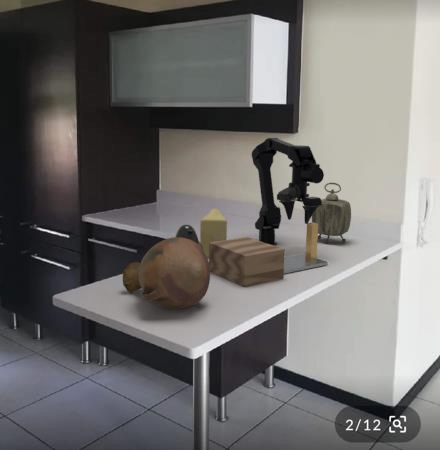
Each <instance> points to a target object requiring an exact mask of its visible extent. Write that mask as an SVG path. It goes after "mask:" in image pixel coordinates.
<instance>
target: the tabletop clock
mask: <svg viewBox="0 0 440 450" xmlns="http://www.w3.org/2000/svg"><path fill="white" fill-rule="evenodd" d="M328 185H333V186H334V185H335V186H338V188H339V190H336V191H335V189H331V190H328V189H327V188H326V187H327V186H328ZM324 190H325V191H326V192H327V193H329V194H327V195H326V197H325V198H321V200H322V205H321V206H319V207H317V208H316V210H315V211H314V213H313V215H312V216H311V223H312V222H313V223H317V224H318V238H317V240H321V238H322V235H324V236H326V237H327V239H326V240H325V243H326V244H330V242H331V240H330V236H331V237H339V236H340V238H341V242H342V243H346V241H347V240H346V238H344V237H343V235H344V234H346V233H348V232H349V229H350V226H351V219H352V207H351V203H350V202H349V201H347V200H344V199H341V198H340V199H339V196H338V195H337V194H338V193H340V192H341V190H342V188H341V185H340V184H339V183H336V182H328V183H326V184H325V185H324Z"/></svg>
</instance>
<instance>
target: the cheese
mask: <svg viewBox="0 0 440 450" xmlns="http://www.w3.org/2000/svg"><path fill="white" fill-rule="evenodd" d="M227 221H228V220H227V219H226V218H225V216H224V214H223V213H221V211H220V210H219V209H218V208H211V210H210V211H209V212H208V214H206V215H205V216H204V217H203V218H201V220H200V231H199V232H200V235H199V237H200V238H199V240H200V241H199V242H200V243H201V245H202V246H203V251H204V252H205V254H206V256H207V259H209V243H210V242H217V241H223V240H228V239H227V238H228V237H227V235H228V233H227V231H228V228H227V227H228V223H227Z"/></svg>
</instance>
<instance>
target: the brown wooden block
mask: <svg viewBox="0 0 440 450" xmlns="http://www.w3.org/2000/svg"><path fill="white" fill-rule="evenodd" d="M284 257H285V248H282V247H279V246H276V245H274V244H273V245H270V244H267V243H264V242H261V241H259V239H258V240H256V239H255V238H251V237H248V236H245V237H244V236H243V237H237V238H233V239H226V240H223V241H217V242H210V243H209V258H208V262H209V266H210V273H212V274H215V275H216V276H218V277H221V278H223V279H226V280H228V281H230V282H232V283H234V284H236V285H238V286H241V287H244V288H247V287H252V286H256V285H260V284H266V283H270V282H274V281H279V280H280V281H281V280H284V275H285V274H284Z"/></svg>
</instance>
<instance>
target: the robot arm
mask: <svg viewBox="0 0 440 450" xmlns="http://www.w3.org/2000/svg"><path fill="white" fill-rule="evenodd" d="M277 153H280V154H283V155H286V156H287V158H288V159H289V160H290V161H291V163H290V164H289V165H288V167H289V168H292V169H291V171H292V172H291V182H289V183H288V187H286V188H284V189H282V190H280V191H278V193H277V194H276V200H277V201H279V203H281V204H282V205H283V207H284V210H285V214H286V217H287V219H288V220H289V221H290V220H291V219H292V217H293V213H294V208H295V202H301V203H302V204H303V205H302V207H301V208H303V210H304V224H305V225H307V223H310V220H311V219H312V215H313V213H314V211H315V210H316V208H317V207H319V206H321V205H322V198H321V197H318V196H310V194H309V193H308V187H309V186H310V183H312V184H320V183H321V182H322V181H323V179H324V176H325V173H324V171H323V169H322V168H321V167H320V166H321V165H320V164H319V163H317V160H316V159H315V157H314V154H313V152H312V150H311V147H310V146H309V145H297V144H293V143H290V142H287V141H284V140H281V139H279V138H278V137H268V138H266V139H265V140H264V141H263V142H261V143H260V144H257V145H256V146H255V148H254V149H252V151H251V159H252V163H253V166H254V167H255V168H256V169H257V171H258V180H259V188H260V197H261V207H260V210H259V213H258V216H259V217H258V219H257V220H256V221H255V222H254V227H255V229H256V230H258V241H261V242H264V243H267V244H270V245H273V246H274V245H278V242H277V241H276V233H275V232H276V230H278V229H280V225H281V221H282V215H281V214H282V213H281V208H280V207H279V206H278V207H277V205H276V203H275V196H274V189H273V188H274V187H273V180H272V179H273V178H272V172H271V168H272V165H273V163H274V157H275V155H277Z"/></svg>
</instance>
